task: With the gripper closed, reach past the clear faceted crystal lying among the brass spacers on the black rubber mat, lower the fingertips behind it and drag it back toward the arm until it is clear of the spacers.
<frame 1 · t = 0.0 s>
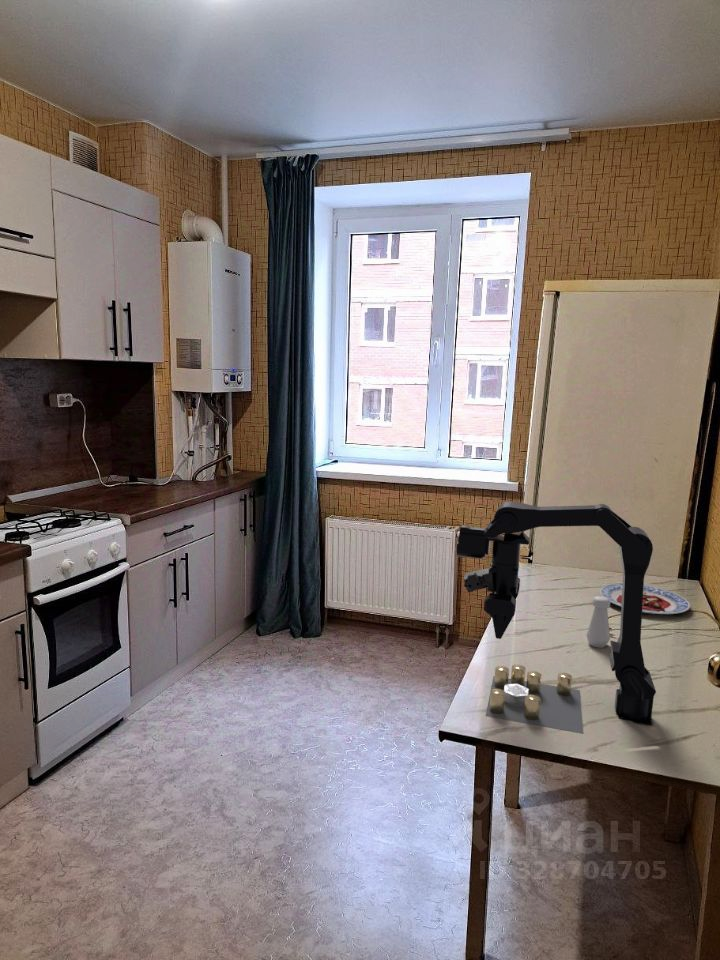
hand: (500, 630, 136), 15 cm above the table, tool pointing down, fingers open, 9 cm apart
clear faceted crystal: (515, 700, 135), resting on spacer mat
salt shaker: (597, 645, 165), on the table
ceramic plate: (643, 604, 197), on the table
brass spacers: (531, 692, 134), on the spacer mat, point 2 cm above the table
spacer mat: (534, 704, 134), on the table
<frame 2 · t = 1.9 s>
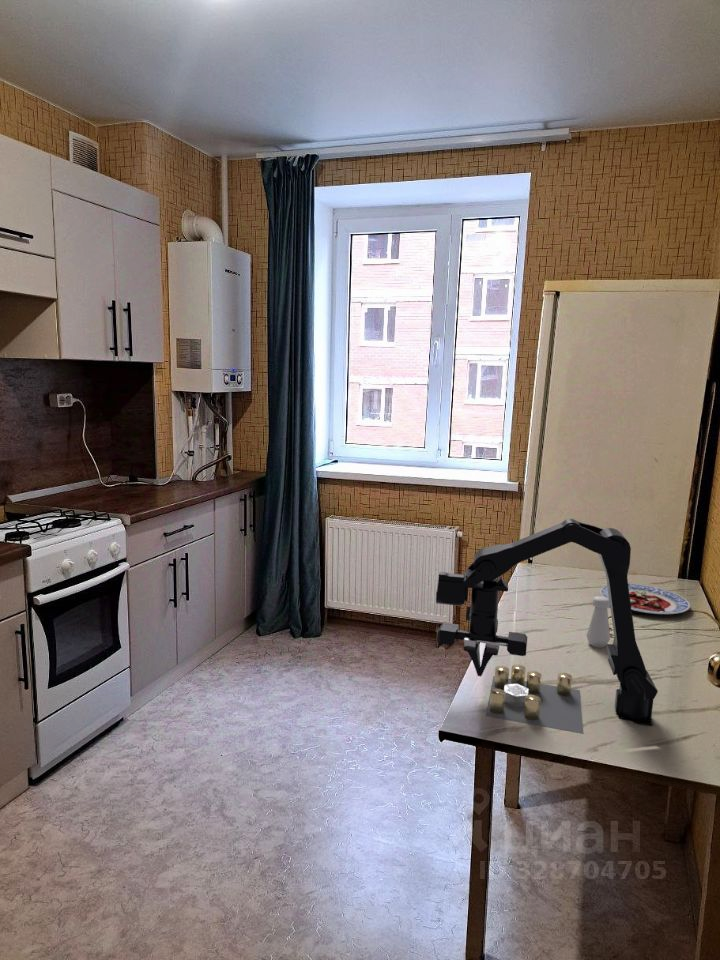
hand: (479, 675, 136), 5 cm above the table, tool pointing down, fingers closed
nothing on the table moved.
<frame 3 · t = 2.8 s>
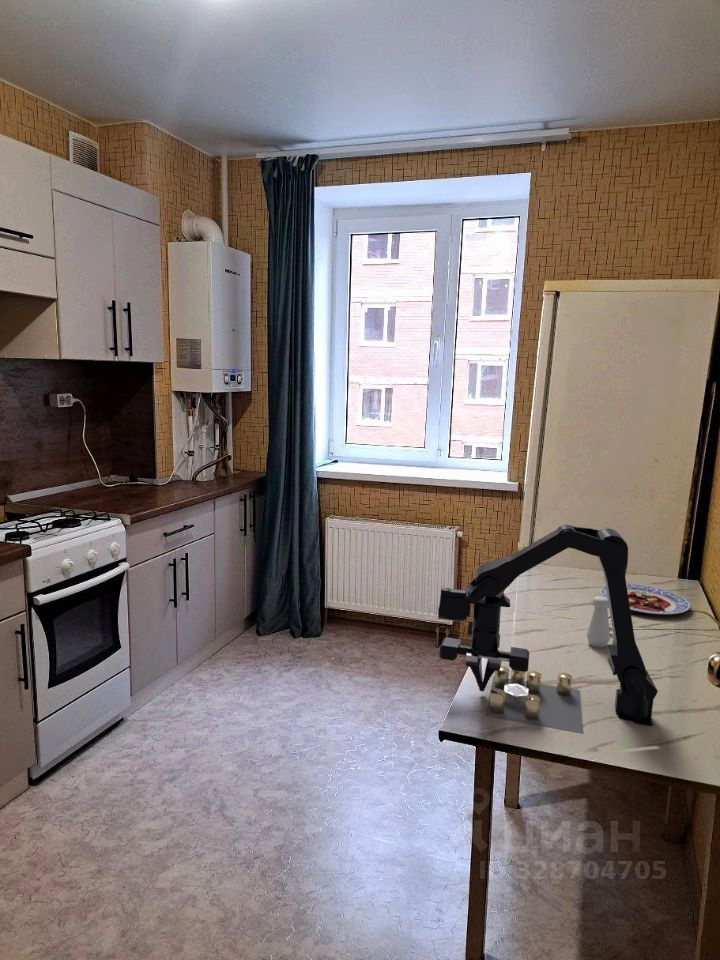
hand: (481, 690, 137), 1 cm above the table, tool pointing down, fingers closed
nothing on the table moved.
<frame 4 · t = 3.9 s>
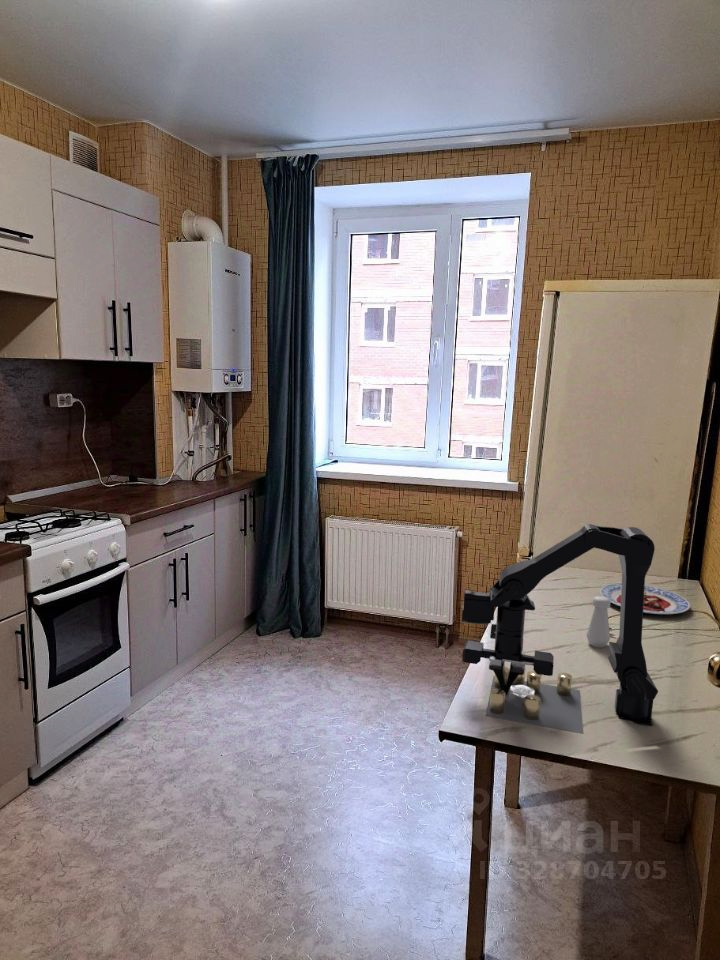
hand: (504, 694, 135), 1 cm above the table, tool pointing down, fingers closed
clear faceted crystal: (521, 701, 134), point 1 cm above the table, touching gripper
everything else where it was.
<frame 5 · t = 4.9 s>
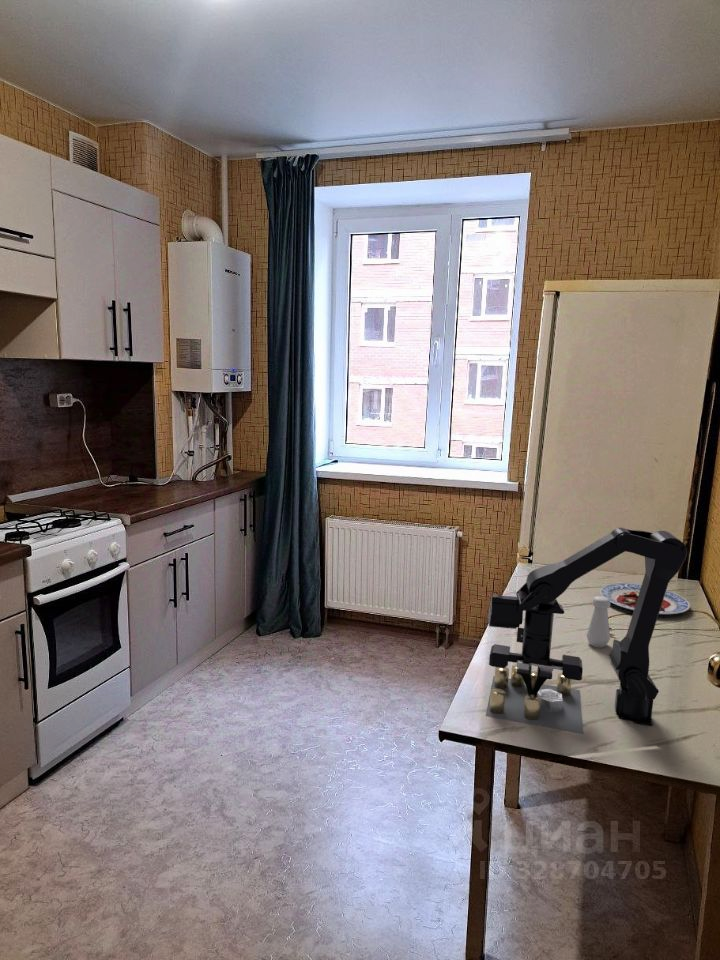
hand: (531, 698, 134), 1 cm above the table, tool pointing down, fingers closed
clear faceted crystal: (548, 705, 133), point 1 cm above the table, touching gripper
everything else where it was.
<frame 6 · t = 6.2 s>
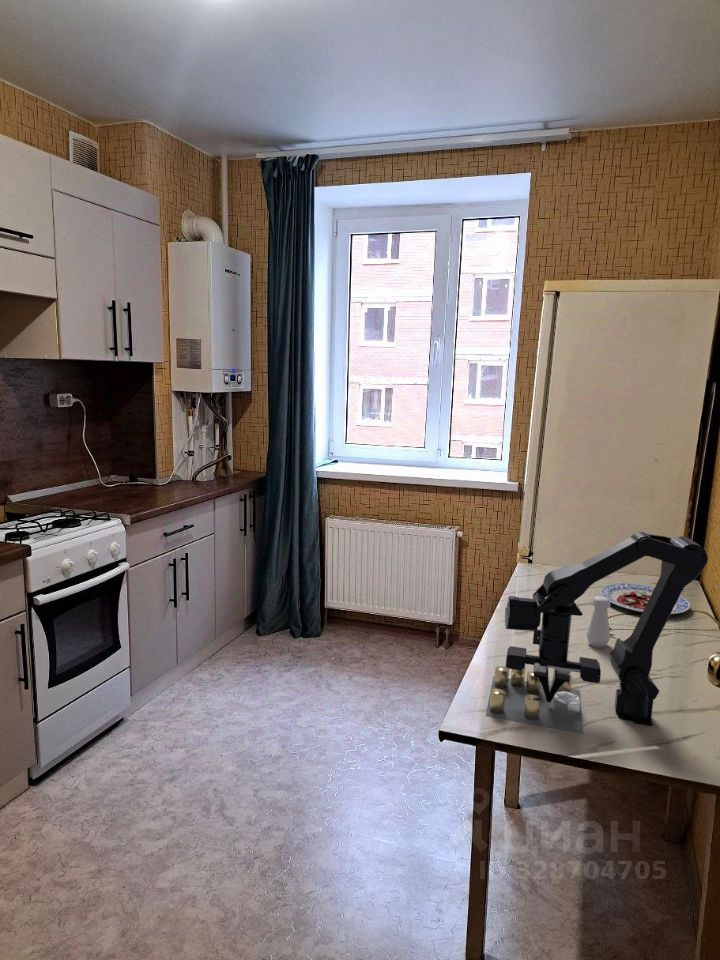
hand: (548, 701, 133), 2 cm above the table, tool pointing down, fingers closed
clear faceted crystal: (565, 708, 132), point 1 cm above the table, touching gripper, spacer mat
everything else where it was.
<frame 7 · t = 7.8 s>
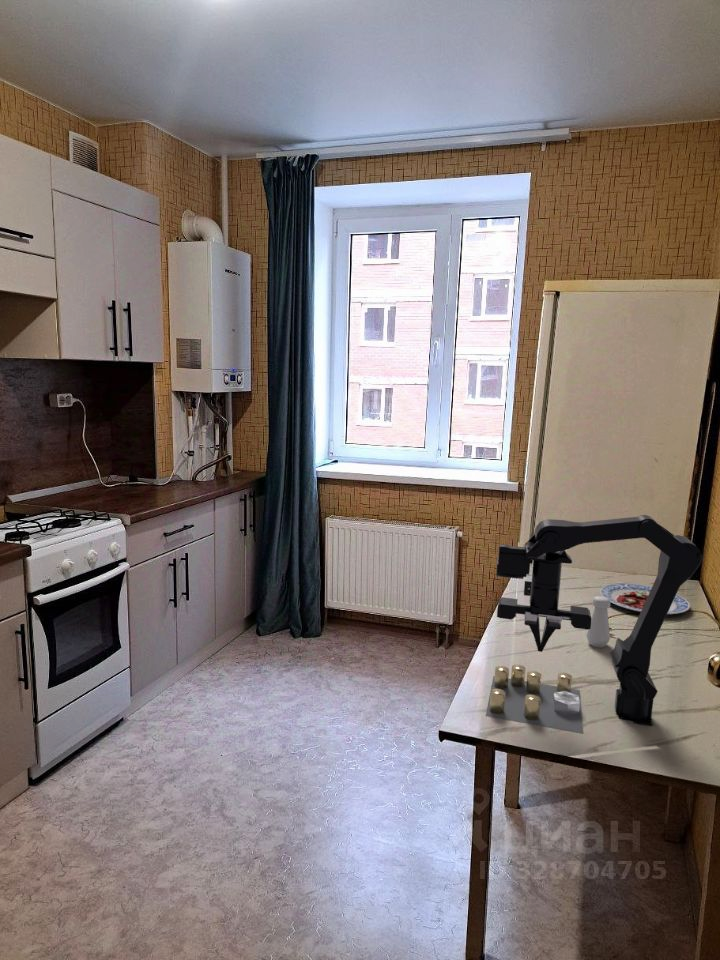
hand: (540, 650, 133), 12 cm above the table, tool pointing down, fingers closed
clear faceted crystal: (565, 708, 132), resting on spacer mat
everything else where it was.
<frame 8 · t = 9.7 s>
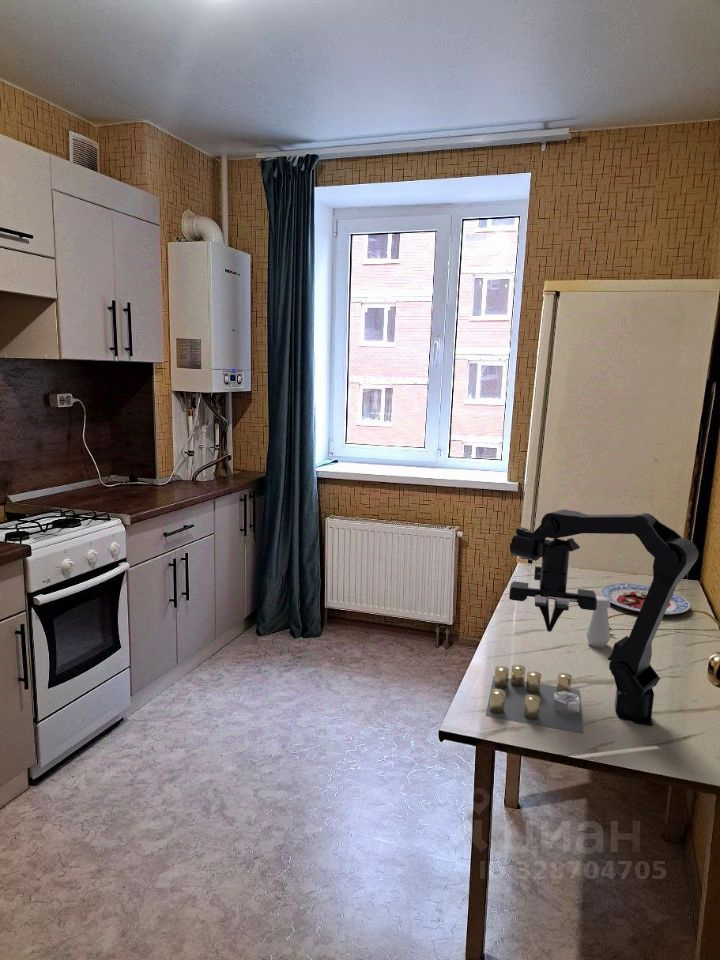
hand: (549, 630, 143), 12 cm above the table, tool pointing down, fingers closed
nothing on the table moved.
at the end: clear faceted crystal inside the target area (1.2 cm from its centre), point 0.5 cm above the table; clear faceted crystal tilted 0°; clear faceted crystal moved 10.3 cm from its start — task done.
